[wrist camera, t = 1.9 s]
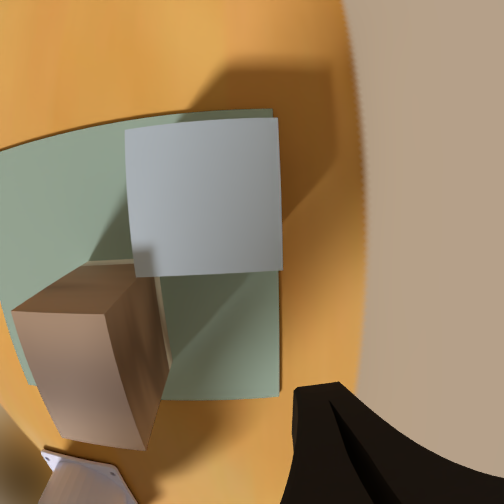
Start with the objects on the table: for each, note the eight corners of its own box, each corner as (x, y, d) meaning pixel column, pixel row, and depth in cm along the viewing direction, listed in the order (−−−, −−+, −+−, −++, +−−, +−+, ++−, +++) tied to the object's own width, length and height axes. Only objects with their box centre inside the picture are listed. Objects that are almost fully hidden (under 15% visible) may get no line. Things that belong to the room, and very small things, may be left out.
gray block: (267, 241, 15) (283, 270, 10) (165, 247, 15) (135, 277, 10) (263, 138, 14) (277, 117, 9) (159, 145, 14) (124, 129, 9)
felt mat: (278, 393, 18) (279, 396, 17) (30, 382, 17) (28, 384, 17) (271, 109, 14) (272, 108, 14) (-15, 158, 13) (-18, 158, 13)
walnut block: (172, 360, 16) (146, 451, 10) (109, 358, 16) (61, 437, 9) (157, 257, 15) (104, 314, 8) (88, 261, 15) (10, 310, 8)
